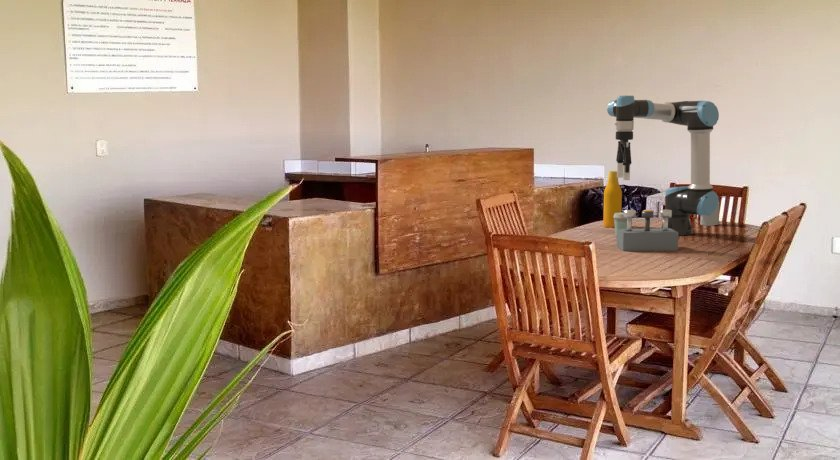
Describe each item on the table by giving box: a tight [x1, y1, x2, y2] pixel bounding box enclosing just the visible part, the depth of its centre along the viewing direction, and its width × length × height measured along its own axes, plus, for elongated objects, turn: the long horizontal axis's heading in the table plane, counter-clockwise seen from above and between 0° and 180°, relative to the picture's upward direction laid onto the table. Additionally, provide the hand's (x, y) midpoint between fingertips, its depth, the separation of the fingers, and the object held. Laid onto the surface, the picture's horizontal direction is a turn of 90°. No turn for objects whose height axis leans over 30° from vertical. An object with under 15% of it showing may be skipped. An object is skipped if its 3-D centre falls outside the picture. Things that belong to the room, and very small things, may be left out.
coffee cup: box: [614, 211, 627, 239], centre depth 416 cm, size 8×8×12 cm
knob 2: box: [659, 209, 672, 231], centre depth 386 cm, size 5×5×12 cm
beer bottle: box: [602, 170, 623, 229], centre depth 454 cm, size 9×9×29 cm
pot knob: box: [641, 209, 655, 231], centre depth 386 cm, size 5×5×12 cm
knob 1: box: [623, 209, 637, 231], centre depth 386 cm, size 5×5×12 cm
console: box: [616, 227, 679, 252], centre depth 387 cm, size 24×12×8 cm, turn 90°
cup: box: [699, 201, 720, 227], centre depth 458 cm, size 9×9×12 cm
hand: (623, 178), depth 387 cm, fingers open, 13 cm apart
